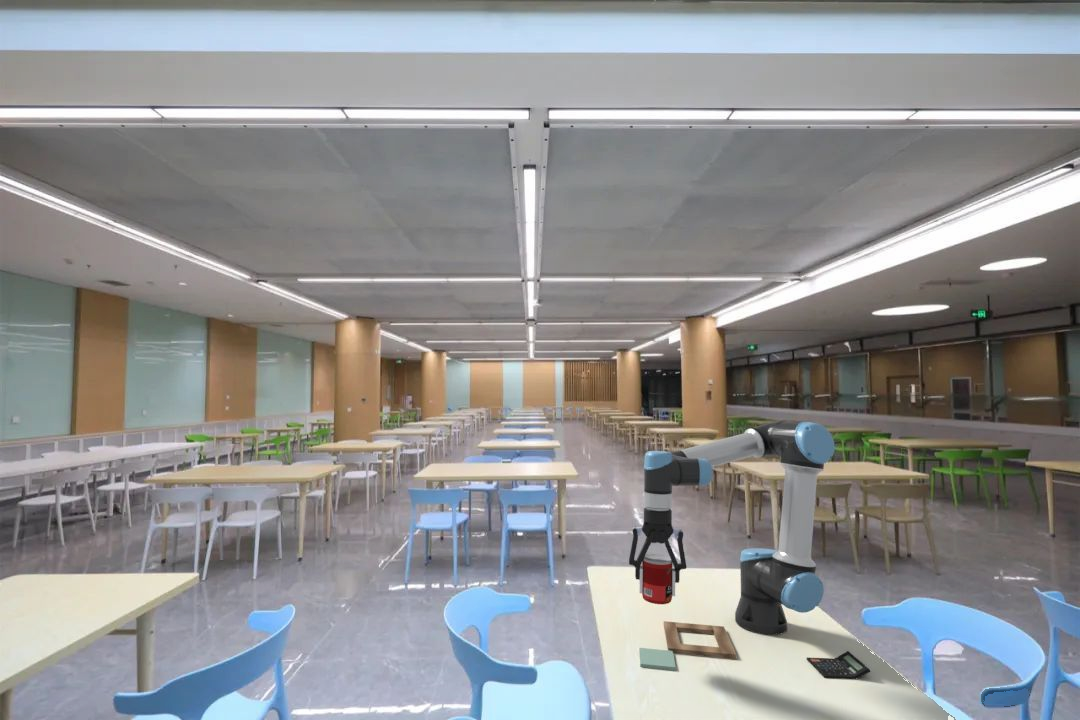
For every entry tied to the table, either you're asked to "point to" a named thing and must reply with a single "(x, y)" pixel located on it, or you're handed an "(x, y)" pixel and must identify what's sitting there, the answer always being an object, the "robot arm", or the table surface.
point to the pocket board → (721, 652)
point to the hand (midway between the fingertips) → (657, 592)
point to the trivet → (657, 659)
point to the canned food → (657, 579)
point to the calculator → (839, 666)
